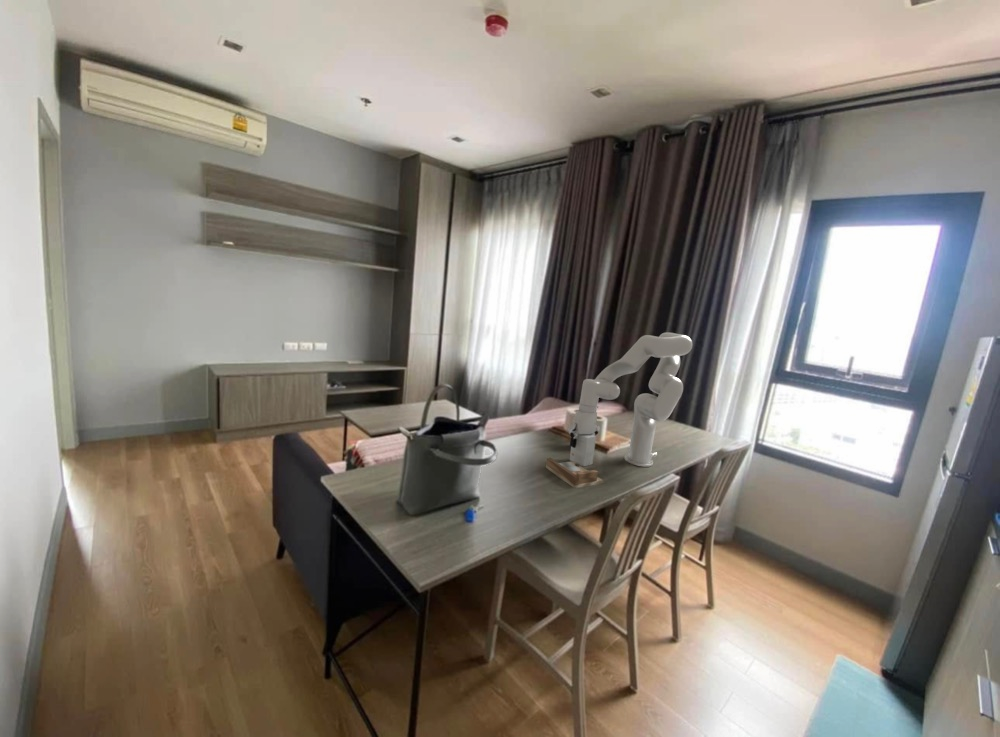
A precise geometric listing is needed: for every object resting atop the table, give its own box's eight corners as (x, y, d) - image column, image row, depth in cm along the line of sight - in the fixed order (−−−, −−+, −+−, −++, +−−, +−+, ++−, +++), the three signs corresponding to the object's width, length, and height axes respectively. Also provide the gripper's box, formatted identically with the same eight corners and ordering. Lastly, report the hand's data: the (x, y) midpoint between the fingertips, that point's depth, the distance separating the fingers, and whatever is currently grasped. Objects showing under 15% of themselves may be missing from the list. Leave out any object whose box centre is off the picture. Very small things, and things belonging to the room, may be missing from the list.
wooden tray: (572, 463, 178) (574, 452, 177) (602, 483, 161) (604, 470, 161) (545, 467, 171) (547, 455, 170) (574, 488, 155) (576, 475, 154)
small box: (592, 464, 180) (596, 435, 177) (583, 467, 176) (587, 438, 173) (578, 457, 186) (582, 430, 183) (568, 460, 182) (572, 432, 179)
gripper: (597, 405, 184) (590, 441, 187) (566, 405, 175) (560, 444, 178) (608, 410, 177) (602, 447, 180) (577, 411, 169) (571, 450, 172)
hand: (581, 445), depth 179 cm, fingers open, 9 cm apart
